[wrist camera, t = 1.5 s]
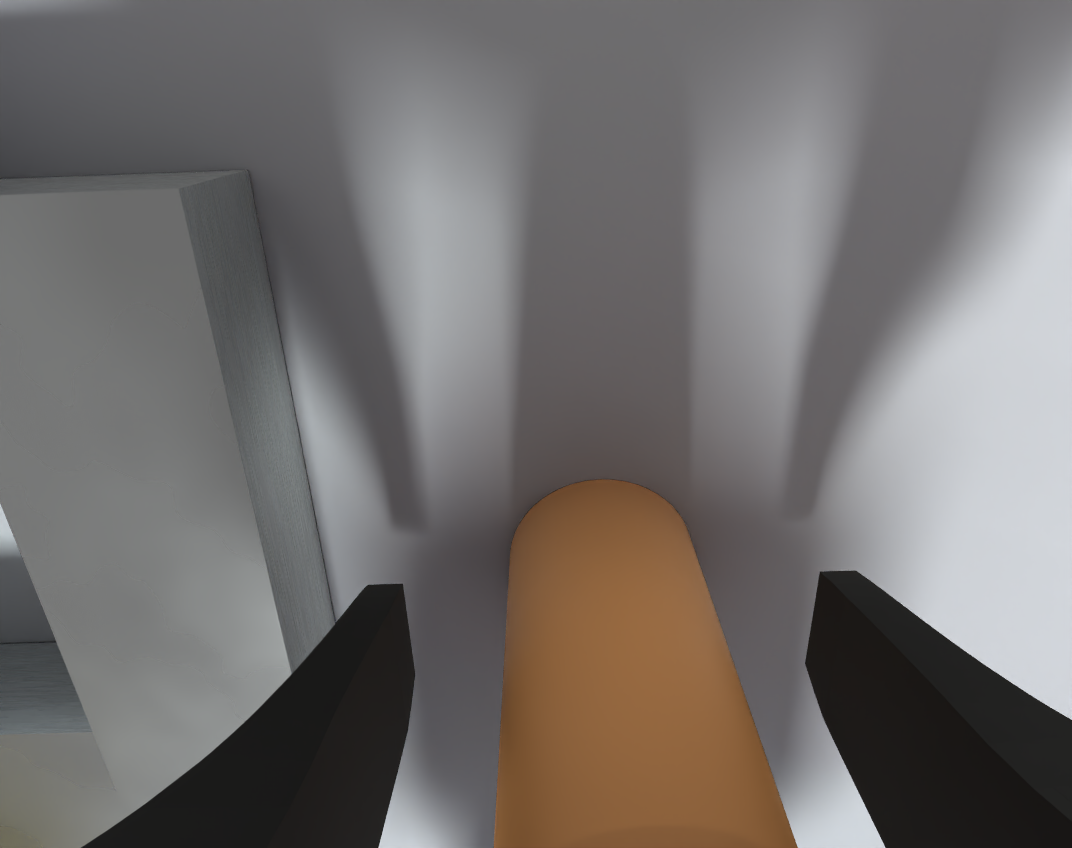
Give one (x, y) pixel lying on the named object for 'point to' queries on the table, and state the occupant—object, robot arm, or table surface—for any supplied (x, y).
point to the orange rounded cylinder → (623, 688)
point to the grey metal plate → (143, 491)
